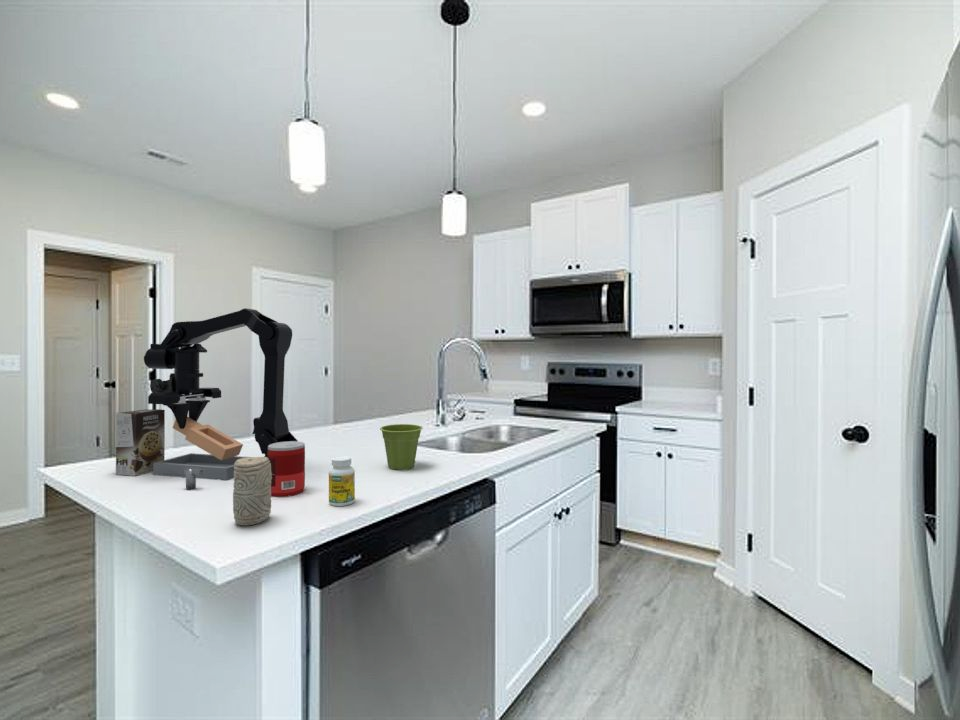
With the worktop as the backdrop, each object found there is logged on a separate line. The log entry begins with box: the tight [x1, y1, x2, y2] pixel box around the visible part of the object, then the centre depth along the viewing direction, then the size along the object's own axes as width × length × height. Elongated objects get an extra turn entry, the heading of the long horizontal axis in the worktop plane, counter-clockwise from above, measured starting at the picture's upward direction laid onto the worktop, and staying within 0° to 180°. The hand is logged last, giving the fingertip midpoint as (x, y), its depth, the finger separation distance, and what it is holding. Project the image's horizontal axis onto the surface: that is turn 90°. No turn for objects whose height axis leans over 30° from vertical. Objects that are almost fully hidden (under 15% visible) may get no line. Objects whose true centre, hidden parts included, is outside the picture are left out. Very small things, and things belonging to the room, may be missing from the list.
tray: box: [152, 452, 253, 481], centre depth 125 cm, size 22×12×3 cm, turn 78°
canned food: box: [268, 441, 306, 498], centre depth 108 cm, size 8×8×11 cm
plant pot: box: [379, 423, 424, 471], centre depth 132 cm, size 12×12×11 cm
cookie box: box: [115, 408, 166, 477], centre depth 125 cm, size 9×6×16 cm
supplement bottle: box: [328, 455, 356, 507], centre depth 101 cm, size 5×5×10 cm
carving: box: [232, 456, 272, 526], centre depth 90 cm, size 6×8×12 cm
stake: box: [184, 468, 203, 491], centre depth 110 cm, size 4×2×5 cm, turn 78°
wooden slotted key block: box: [172, 416, 244, 460], centre depth 125 cm, size 18×6×3 cm, turn 79°
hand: (187, 427), depth 126 cm, fingers closed on wooden slotted key block, 3 cm apart
